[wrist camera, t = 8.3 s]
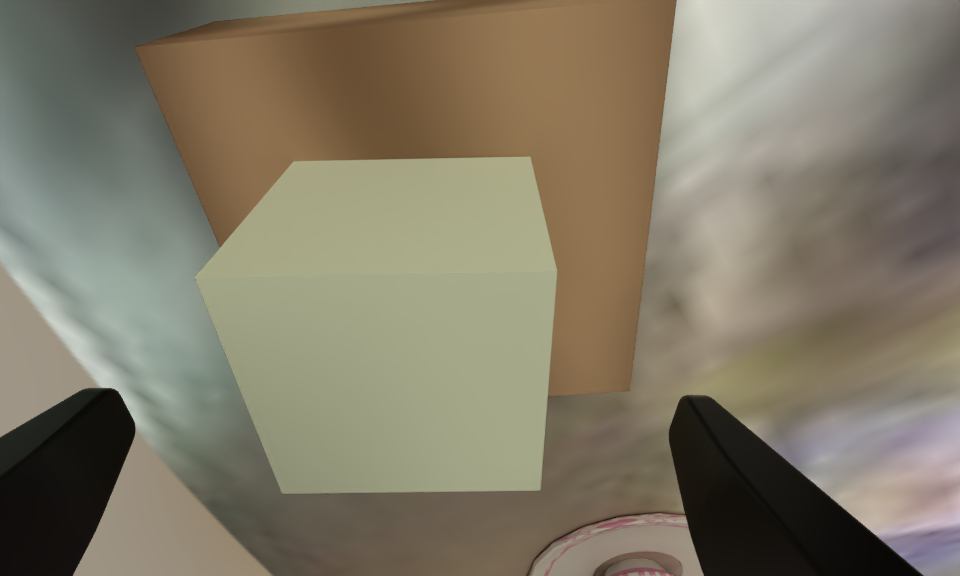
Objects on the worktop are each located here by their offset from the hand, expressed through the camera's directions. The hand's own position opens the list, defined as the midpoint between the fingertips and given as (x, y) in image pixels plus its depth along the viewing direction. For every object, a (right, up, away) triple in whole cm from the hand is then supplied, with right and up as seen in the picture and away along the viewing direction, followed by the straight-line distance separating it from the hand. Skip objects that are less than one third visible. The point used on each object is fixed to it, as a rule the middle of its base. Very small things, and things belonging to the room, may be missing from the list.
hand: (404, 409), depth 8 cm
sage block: (0, +3, +4) cm, 5 cm away
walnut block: (0, +5, +7) cm, 9 cm away
